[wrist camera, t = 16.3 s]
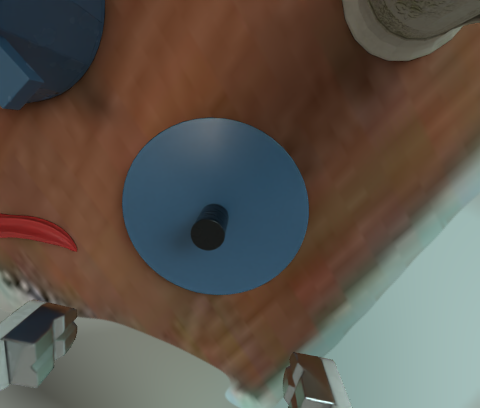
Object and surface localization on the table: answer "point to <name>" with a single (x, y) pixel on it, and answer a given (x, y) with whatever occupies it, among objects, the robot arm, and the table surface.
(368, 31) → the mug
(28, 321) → the robot arm
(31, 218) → the cayenne pepper
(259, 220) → the lid
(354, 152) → the table surface
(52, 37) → the pot
